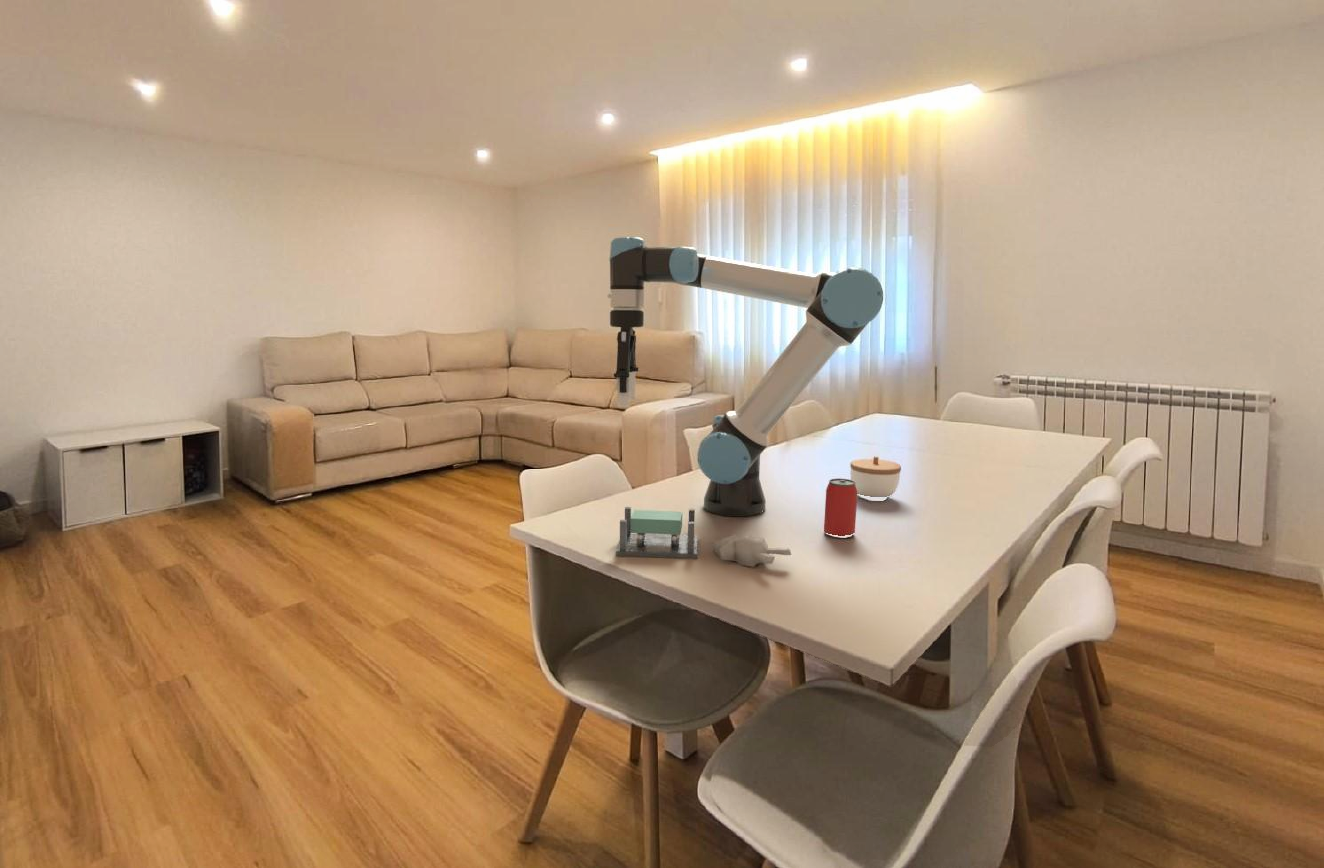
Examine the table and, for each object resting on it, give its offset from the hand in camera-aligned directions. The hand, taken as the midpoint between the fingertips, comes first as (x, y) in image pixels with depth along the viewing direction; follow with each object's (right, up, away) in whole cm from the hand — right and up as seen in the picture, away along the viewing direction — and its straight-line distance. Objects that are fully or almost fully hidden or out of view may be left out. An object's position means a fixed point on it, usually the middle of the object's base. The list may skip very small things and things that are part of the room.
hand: (626, 403), depth 156 cm
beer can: (+47, -29, -7) cm, 56 cm away
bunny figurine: (+25, -32, -24) cm, 47 cm away
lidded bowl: (+64, -24, +22) cm, 72 cm away
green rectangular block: (+7, -26, -18) cm, 33 cm away
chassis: (+7, -30, -17) cm, 36 cm away
